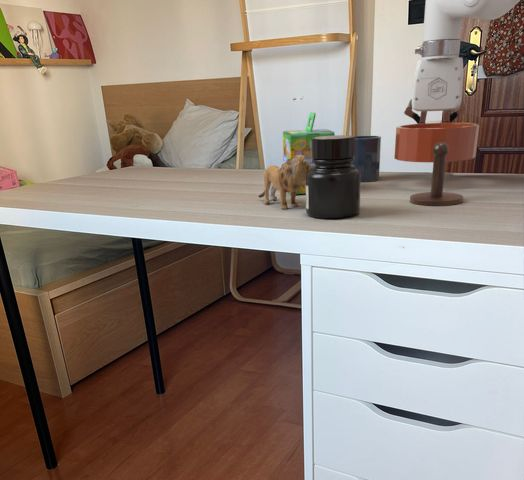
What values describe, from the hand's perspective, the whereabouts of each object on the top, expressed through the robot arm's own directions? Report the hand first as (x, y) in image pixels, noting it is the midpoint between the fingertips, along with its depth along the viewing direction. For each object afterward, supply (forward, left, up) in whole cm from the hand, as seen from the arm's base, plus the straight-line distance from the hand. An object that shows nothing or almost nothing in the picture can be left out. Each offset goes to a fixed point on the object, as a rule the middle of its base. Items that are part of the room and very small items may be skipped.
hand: (432, 144), depth 118 cm
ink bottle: (+17, +42, -7) cm, 46 cm away
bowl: (0, +9, -1) cm, 9 cm away
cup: (+15, +5, -7) cm, 17 cm away
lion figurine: (+27, +34, -7) cm, 44 cm away
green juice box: (+25, +19, -7) cm, 32 cm away
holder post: (0, +31, -7) cm, 32 cm away
